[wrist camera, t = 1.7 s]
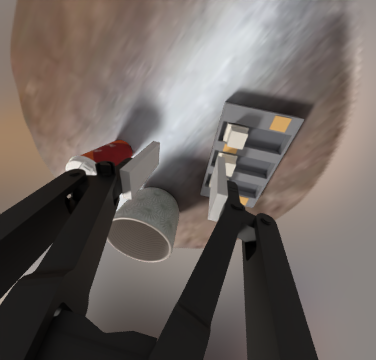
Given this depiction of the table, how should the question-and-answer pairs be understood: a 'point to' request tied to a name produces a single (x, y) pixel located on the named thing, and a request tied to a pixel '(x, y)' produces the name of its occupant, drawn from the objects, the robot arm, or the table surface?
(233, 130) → the tab
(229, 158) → the tab
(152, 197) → the concrete flower pot
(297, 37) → the table surface
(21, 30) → the table surface
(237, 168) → the switch bank
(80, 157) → the paper cup
